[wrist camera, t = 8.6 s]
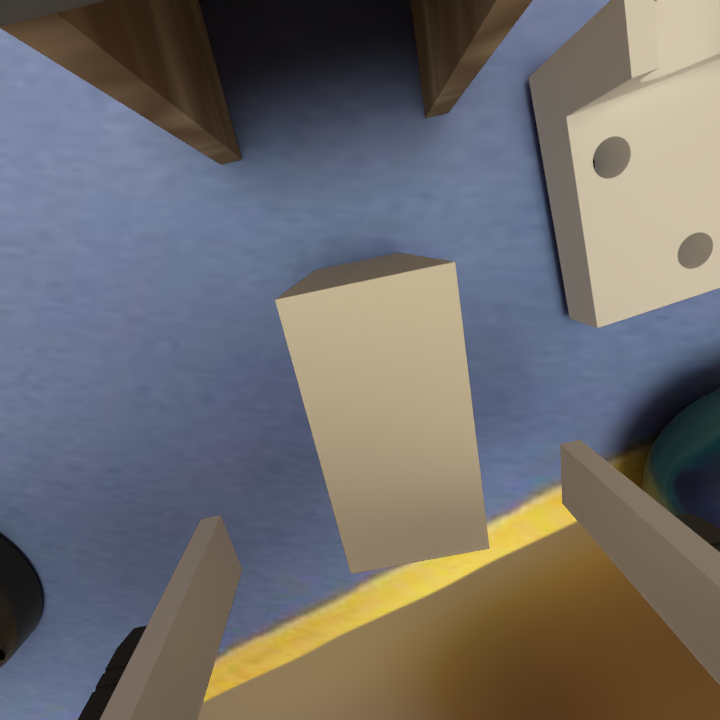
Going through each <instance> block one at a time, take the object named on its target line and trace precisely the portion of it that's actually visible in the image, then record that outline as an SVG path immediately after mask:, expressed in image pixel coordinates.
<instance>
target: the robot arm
mask: <svg viewBox="0 0 720 720" xmlns="http://www.w3.org/2000/svg"><path fill="white" fill-rule="evenodd" d="M560 450H561V477H562V503H563V505H564V506H565V507H566V508H567V509H568V510H569V511H570V513H571V514H572V515H573V516H574V517H575V518H576V520H577V521H578V522H579V523H580V524H581V525H582V526H583V528H584V529H585V530H586V531H587V532H588V533H589V534H590V536H591V537H592V538H593V539H594V540H595V542H596V543H597V544H598V545H599V546H600V547H601V548H602V550H603V551H604V552H605V553H606V554H607V555H608V556H609V558H610V559H611V560H612V561H613V562H614V563H615V565H616V566H617V567H618V568H619V569H620V570H621V572H622V573H623V574H624V575H625V576H626V577H627V579H628V580H629V581H630V582H631V583H632V584H633V585H634V587H635V588H636V589H637V590H638V591H639V592H640V593H641V595H642V596H643V597H644V598H645V599H646V601H647V602H648V603H649V604H650V605H651V606H652V607H653V608H654V610H655V611H656V612H657V613H658V614H659V616H660V617H661V618H662V619H663V620H664V621H665V622H666V624H667V625H668V626H669V627H670V628H671V629H672V631H673V632H674V633H675V634H676V635H677V636H678V637H679V639H680V640H681V641H682V642H683V643H684V644H685V646H686V647H687V648H688V649H689V650H690V651H691V653H692V654H693V655H694V656H695V657H696V658H697V659H698V661H699V662H700V663H701V664H702V665H703V666H704V668H706V670H707V671H708V672H709V673H710V675H711V676H712V677H713V678H714V679H715V680H716V682H717V683H718V684H719V685H720V529H719V528H717V527H716V526H715V525H713V524H712V523H710V522H707V521H705V520H703V519H701V518H699V517H697V516H695V515H693V514H691V513H685V514H680V515H675V516H674V515H673V514H671V513H670V512H669V511H668V510H667V509H665V508H664V507H663V506H662V505H660V504H659V503H658V502H657V501H655V500H654V499H653V498H652V497H650V496H649V495H648V494H647V493H646V492H644V491H643V490H642V489H641V488H639V487H638V486H637V485H636V484H634V483H633V482H632V481H631V480H629V479H628V478H627V477H626V476H624V475H623V474H622V473H621V472H620V471H618V470H617V469H616V468H615V467H613V466H612V465H611V464H610V463H608V462H607V461H606V460H605V459H603V458H602V457H601V456H600V455H598V454H597V453H596V452H595V451H594V450H592V449H591V448H590V447H589V446H587V445H586V444H585V443H584V442H582V441H581V440H577V441H572V442H568V443H563V444H560ZM241 572H242V568H241V565H240V563H239V560H238V558H237V555H236V553H235V550H234V548H233V545H232V543H231V540H230V538H229V535H228V533H227V530H226V528H225V525H224V523H223V520H222V518H221V515H219V516H214V517H209V518H204V519H201V520H200V522H199V524H198V526H197V528H196V530H195V532H194V534H193V536H192V538H191V540H190V542H189V544H188V546H187V548H186V550H185V552H184V554H183V556H182V558H181V560H180V561H179V563H178V565H177V567H176V569H175V571H174V573H173V575H172V577H171V579H170V581H169V583H168V585H167V587H166V589H165V591H164V593H163V595H162V597H161V599H160V601H159V603H158V605H157V607H156V609H155V611H154V613H153V615H152V617H151V619H150V621H149V623H148V625H147V626H143V627H138V628H134V629H133V630H132V631H131V632H130V634H129V635H128V636H127V637H126V638H125V640H124V641H123V642H122V643H121V644H120V645H119V647H118V648H117V649H116V651H115V653H114V655H113V657H112V658H111V660H110V662H109V664H108V666H107V668H106V669H105V670H106V672H105V674H103V675H102V677H101V678H100V680H99V682H98V684H97V686H96V690H95V692H93V693H92V695H91V697H90V698H89V700H88V702H87V704H86V706H85V708H84V709H83V711H82V713H81V715H80V717H79V718H78V720H198V717H199V713H200V710H201V706H202V703H203V700H204V696H205V693H206V690H207V686H208V683H209V680H210V676H211V673H212V670H213V666H214V663H215V660H216V656H217V653H218V649H219V646H220V643H221V639H222V636H223V633H224V629H225V626H226V623H227V619H228V616H229V613H230V609H231V606H232V603H233V599H234V596H235V592H236V589H237V586H238V582H239V579H240V576H241ZM41 612H42V593H41V589H40V585H39V583H38V580H37V578H36V576H35V574H34V572H33V570H32V569H31V567H30V566H29V564H28V563H27V562H26V560H25V559H24V558H23V557H22V555H21V554H20V553H19V552H18V551H17V550H16V549H15V548H14V547H13V546H12V545H10V544H9V543H8V542H7V541H6V540H4V539H3V538H2V537H0V668H1V667H2V666H3V665H4V664H5V663H6V662H7V661H8V660H9V659H10V658H11V657H12V656H13V654H14V653H15V652H16V651H17V650H18V648H19V647H20V646H21V645H22V643H23V642H24V641H25V640H26V639H27V637H28V636H29V635H30V634H31V633H32V631H33V630H34V629H35V627H36V625H37V623H38V621H39V619H40V616H41Z"/></svg>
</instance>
